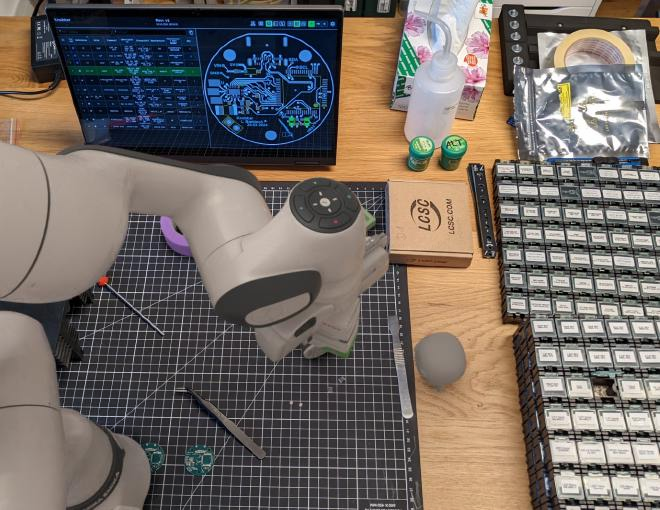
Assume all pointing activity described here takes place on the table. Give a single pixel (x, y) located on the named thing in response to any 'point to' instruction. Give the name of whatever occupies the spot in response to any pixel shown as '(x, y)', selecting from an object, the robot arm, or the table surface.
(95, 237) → the robot arm
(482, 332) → the table surface
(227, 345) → the table surface
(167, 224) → the tape roll
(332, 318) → the ink box
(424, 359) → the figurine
